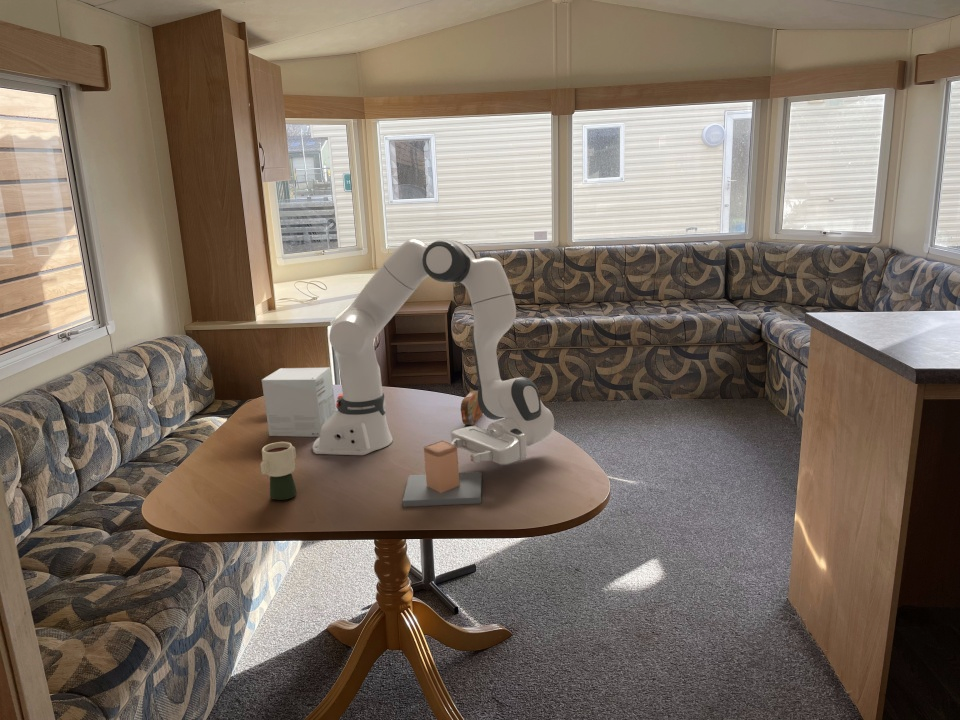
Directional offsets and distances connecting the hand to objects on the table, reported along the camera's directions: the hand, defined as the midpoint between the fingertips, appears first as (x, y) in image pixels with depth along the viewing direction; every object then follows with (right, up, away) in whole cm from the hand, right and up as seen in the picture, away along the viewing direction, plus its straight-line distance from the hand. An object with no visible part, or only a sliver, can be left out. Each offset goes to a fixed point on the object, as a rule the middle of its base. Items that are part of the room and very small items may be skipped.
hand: (459, 453), depth 170 cm
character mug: (-43, -11, +1) cm, 44 cm away
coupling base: (-4, -9, -1) cm, 10 cm away
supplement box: (-49, +1, +46) cm, 68 cm away
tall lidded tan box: (-4, -8, -2) cm, 9 cm away
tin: (+3, +4, +46) cm, 46 cm away
